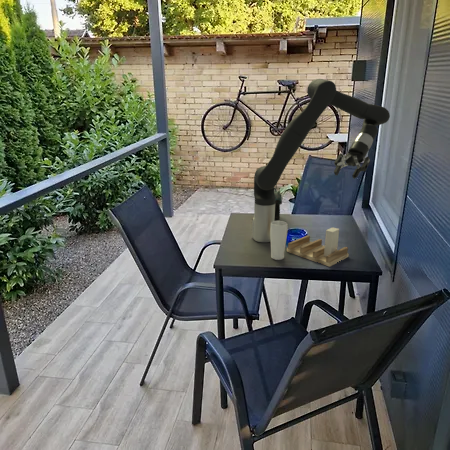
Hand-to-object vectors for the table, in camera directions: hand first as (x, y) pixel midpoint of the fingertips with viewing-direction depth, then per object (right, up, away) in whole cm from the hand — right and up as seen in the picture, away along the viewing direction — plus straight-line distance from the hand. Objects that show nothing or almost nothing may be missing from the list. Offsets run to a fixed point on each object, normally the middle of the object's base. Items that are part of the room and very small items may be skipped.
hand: (344, 175), depth 166 cm
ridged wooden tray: (-12, -33, -2) cm, 35 cm away
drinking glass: (-29, -35, -6) cm, 46 cm away
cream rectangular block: (-8, -33, -7) cm, 35 cm away
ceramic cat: (-25, -19, +41) cm, 52 cm away
